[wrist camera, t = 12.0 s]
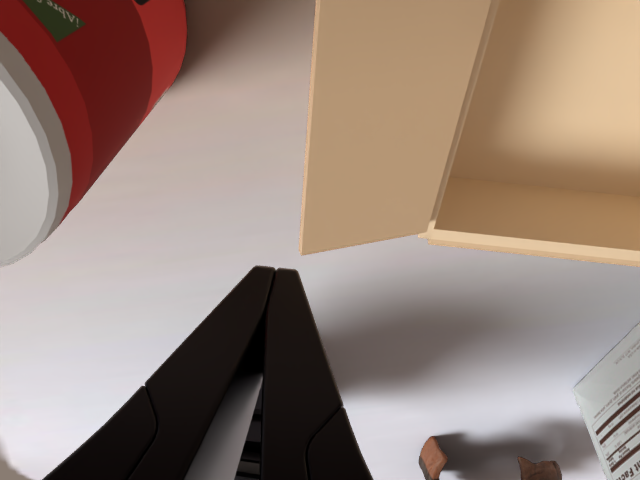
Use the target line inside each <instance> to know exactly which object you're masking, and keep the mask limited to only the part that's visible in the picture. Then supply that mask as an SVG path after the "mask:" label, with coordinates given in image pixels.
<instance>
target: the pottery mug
mask: <svg viewBox="0 0 640 480" xmlns="http://www.w3.org/2000/svg"><path fill="white" fill-rule="evenodd" d="M447 460H448V458H447V456H446V455H445V453H444V452H443V451H442V450H441V449H440V448H439V444H438V442H437V440H436V438H435V437H434V436H432V437H430V438H429V439H428V441H426V443H425V445H424V446H423V448H422V451H421V453H420V456H419V465H420V467H421V469H422V471H423V474H424V477H425V479H426V480H439V475H440V472H441V471H442V468H443V467H444V465H445V464H446V462H447ZM518 462H519V464H520V469H521V480H562V474H561V471H560V468H559V465H558V464H557V463H556V462H555V461H541V462H540V463H537V464H535V463H531V462H530V461H528V460H527V459H524V458H522V457H518Z"/></svg>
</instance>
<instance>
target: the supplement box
mask: <svg viewBox="0 0 640 480" xmlns="http://www.w3.org/2000/svg"><path fill="white" fill-rule="evenodd" d="M573 394H574V396H575V399H576V401H577V404H578V406H579V408H580V411H581V414H582V416H583V419H584V422H585V424H586V427H587V429H588V432H589V434H590V437H591V439H592V442H593V445H594V448H595V450H596V453H597V456H598V458H599V461H600V463H601V466H602V468H603V471H604V474H605V476H606V479H607V480H640V323H639V324H638V325H637V326H635V327H634V328H633V329H632V330H631V331H630V332H629V333H628V334H627V335H626V336H625V337H624V338H623V339H622V340H621V341H620V342H619V343H618V344H617V345H616V346H615V347H614V348H613V349H612V350H611V351H610V352H609V353H608V354H607V355H606V356H605V357H604V358H603V359H602V360H601V361H600V362H599V363H598V364H597V365H596V366H595V367H594V368H593V369H592V370H591V371H590V372H589V373H588V374H587V375H586V376H585V377H584V378H583V379H582V380H581V381H580V382H579V383H578V384H577V385H576V386H575V387H574V388H573Z"/></svg>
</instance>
